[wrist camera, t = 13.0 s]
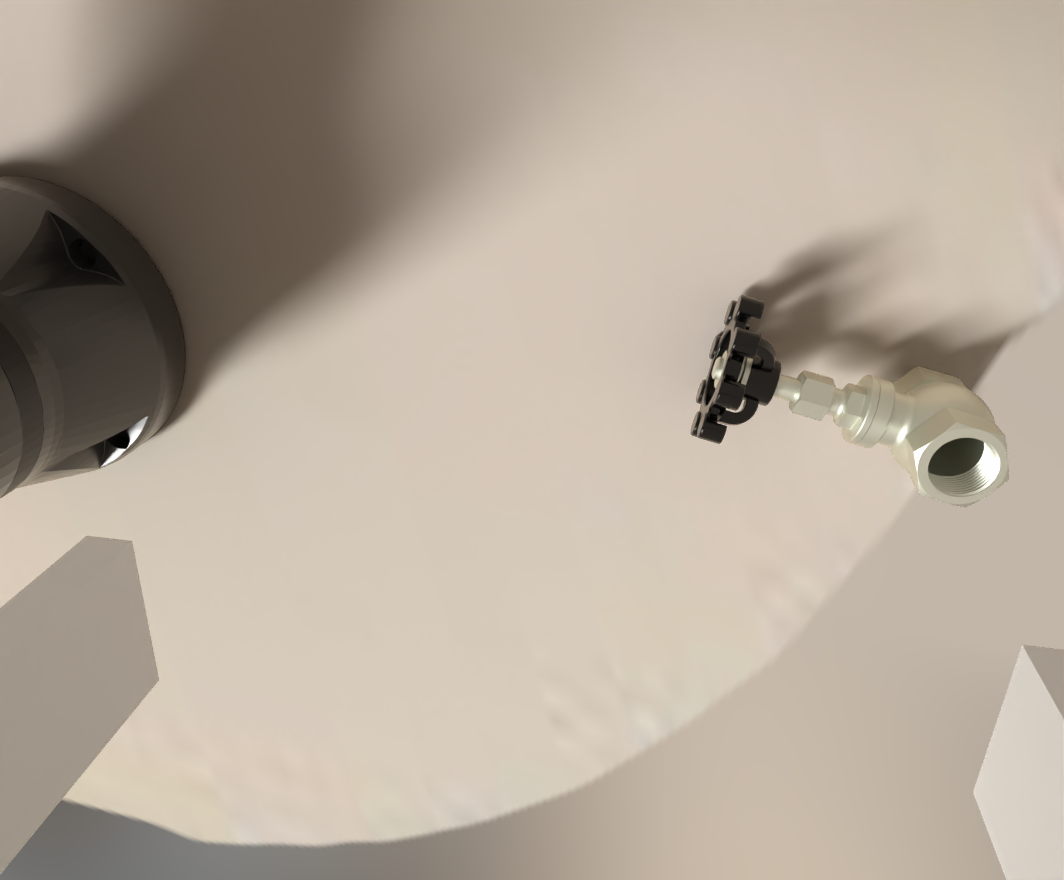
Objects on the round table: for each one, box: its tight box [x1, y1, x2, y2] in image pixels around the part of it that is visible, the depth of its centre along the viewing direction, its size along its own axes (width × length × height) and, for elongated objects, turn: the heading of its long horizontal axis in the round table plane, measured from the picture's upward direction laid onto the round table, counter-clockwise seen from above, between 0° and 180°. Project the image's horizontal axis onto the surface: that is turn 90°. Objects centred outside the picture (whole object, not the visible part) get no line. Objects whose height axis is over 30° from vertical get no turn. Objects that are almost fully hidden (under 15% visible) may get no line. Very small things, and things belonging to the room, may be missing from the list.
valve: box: [691, 295, 1009, 507], centre depth 37 cm, size 7×7×12 cm
